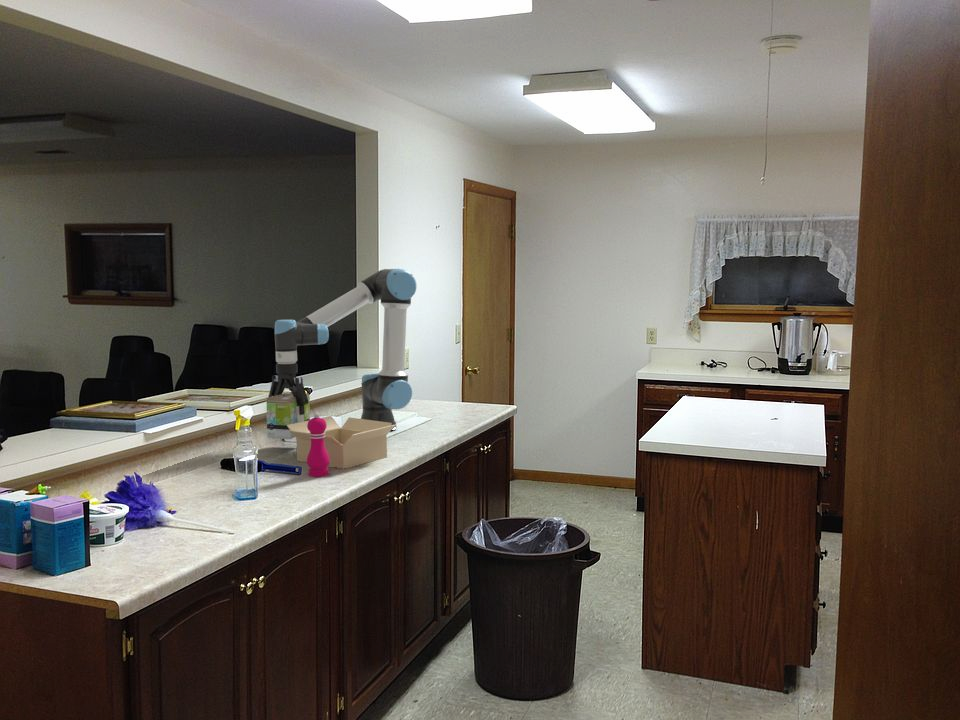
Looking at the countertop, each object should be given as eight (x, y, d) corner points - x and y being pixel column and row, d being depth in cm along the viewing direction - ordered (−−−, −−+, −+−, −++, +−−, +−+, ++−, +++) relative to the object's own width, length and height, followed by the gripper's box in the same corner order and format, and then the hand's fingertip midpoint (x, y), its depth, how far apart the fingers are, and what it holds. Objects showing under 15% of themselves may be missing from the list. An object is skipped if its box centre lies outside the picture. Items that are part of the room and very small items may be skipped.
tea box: (292, 439, 297) (290, 398, 296) (266, 438, 300) (264, 397, 298) (311, 431, 312) (309, 392, 310) (286, 430, 314) (285, 391, 313)
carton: (339, 446, 310) (338, 414, 309) (404, 456, 291) (403, 422, 290) (279, 461, 287) (277, 426, 286) (345, 473, 268) (344, 436, 267)
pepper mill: (322, 478, 263) (320, 415, 260) (302, 476, 265) (300, 414, 263) (334, 472, 269) (332, 411, 267) (315, 471, 272) (312, 410, 270)
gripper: (256, 361, 307) (259, 420, 309) (301, 365, 293) (303, 426, 295) (272, 359, 313) (275, 417, 315) (317, 363, 299) (319, 423, 301)
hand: (288, 421), depth 305 cm, fingers closed on tea box, 12 cm apart
